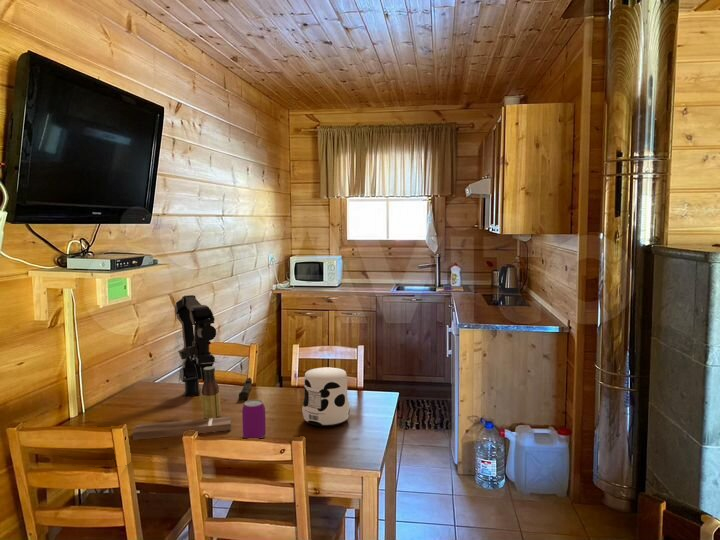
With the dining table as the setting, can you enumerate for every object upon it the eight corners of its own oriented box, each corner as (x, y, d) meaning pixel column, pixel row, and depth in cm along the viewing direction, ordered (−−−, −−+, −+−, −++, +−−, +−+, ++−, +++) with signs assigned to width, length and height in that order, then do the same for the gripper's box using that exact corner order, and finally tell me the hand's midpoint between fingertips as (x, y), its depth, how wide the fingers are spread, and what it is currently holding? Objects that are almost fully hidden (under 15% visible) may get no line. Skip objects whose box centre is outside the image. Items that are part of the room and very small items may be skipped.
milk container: (346, 411, 201) (345, 365, 199) (353, 428, 184) (352, 378, 182) (301, 414, 198) (300, 367, 196) (304, 432, 181) (303, 381, 179)
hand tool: (248, 401, 213) (248, 390, 213) (238, 401, 213) (238, 390, 213) (256, 386, 232) (256, 376, 232) (247, 386, 232) (247, 376, 232)
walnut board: (137, 431, 182) (136, 424, 182) (231, 423, 189) (231, 416, 189) (133, 440, 176) (132, 432, 175) (230, 430, 182) (230, 423, 182)
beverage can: (269, 433, 180) (268, 399, 179) (260, 442, 173) (259, 407, 172) (248, 431, 182) (247, 398, 181) (239, 440, 175) (237, 405, 173)
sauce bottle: (215, 415, 197) (214, 364, 195) (224, 419, 193) (222, 367, 191) (199, 420, 193) (197, 367, 191) (208, 424, 188) (206, 371, 186)
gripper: (176, 338, 207) (175, 377, 207) (184, 341, 191) (184, 384, 190) (204, 336, 213) (204, 375, 212) (215, 340, 196) (215, 382, 195)
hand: (201, 379), depth 202 cm, fingers open, 9 cm apart
